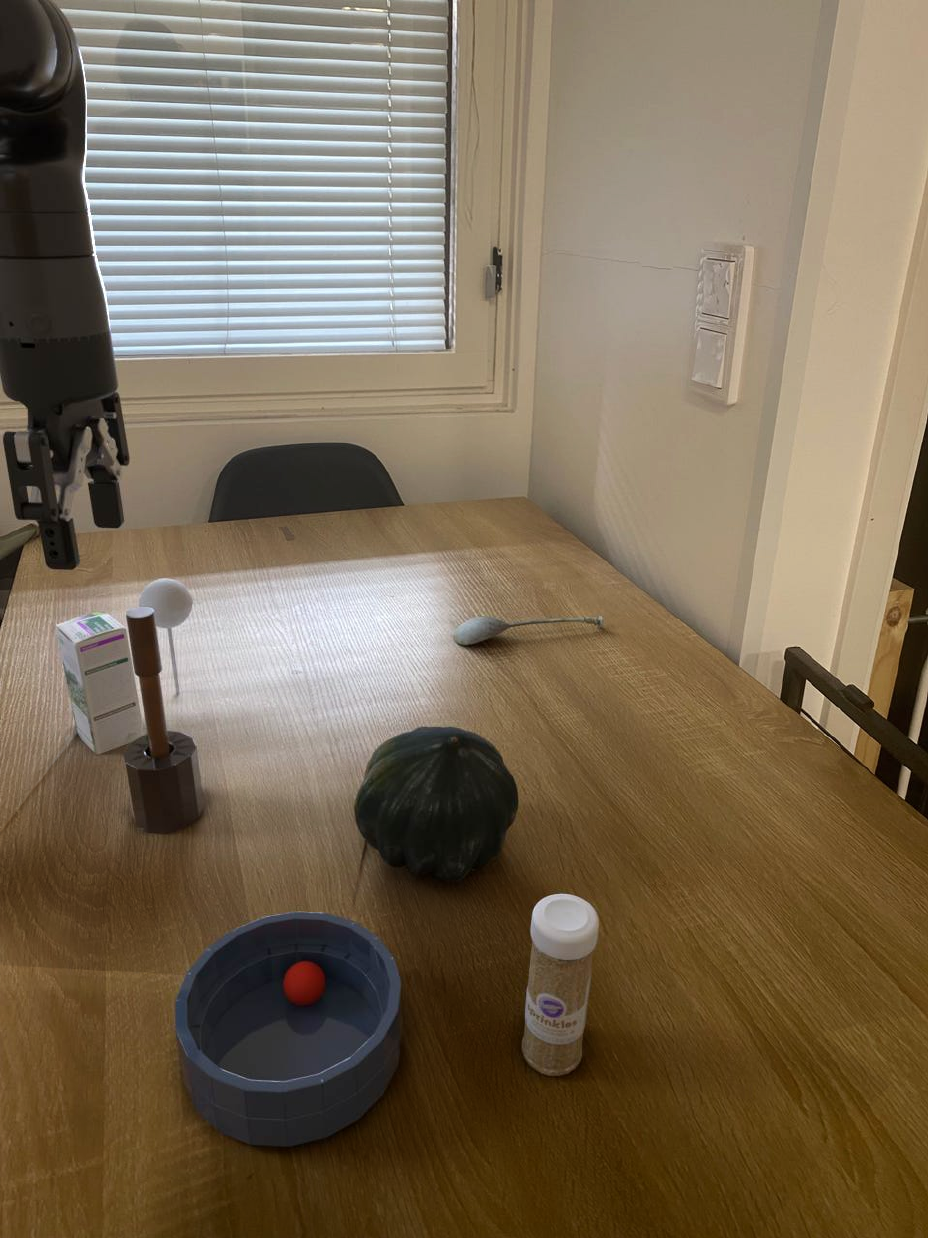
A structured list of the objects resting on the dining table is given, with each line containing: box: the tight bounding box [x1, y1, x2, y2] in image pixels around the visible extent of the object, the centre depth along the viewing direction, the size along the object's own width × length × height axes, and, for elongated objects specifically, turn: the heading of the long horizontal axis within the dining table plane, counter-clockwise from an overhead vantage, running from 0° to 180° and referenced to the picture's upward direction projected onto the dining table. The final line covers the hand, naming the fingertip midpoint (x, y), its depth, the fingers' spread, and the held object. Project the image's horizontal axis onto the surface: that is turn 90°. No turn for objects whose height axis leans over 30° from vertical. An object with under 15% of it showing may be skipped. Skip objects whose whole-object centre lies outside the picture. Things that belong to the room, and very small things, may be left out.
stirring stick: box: [125, 606, 170, 758], centre depth 86 cm, size 2×2×22 cm
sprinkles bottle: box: [521, 893, 600, 1077], centre depth 64 cm, size 5×5×13 cm
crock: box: [122, 730, 205, 834], centre depth 89 cm, size 7×7×8 cm
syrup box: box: [55, 610, 145, 756], centre depth 100 cm, size 6×6×14 cm
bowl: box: [174, 910, 403, 1148], centre depth 66 cm, size 16×16×6 cm
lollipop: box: [138, 577, 194, 694], centre depth 109 cm, size 6×6×15 cm
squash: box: [353, 726, 520, 883], centre depth 84 cm, size 14×15×15 cm
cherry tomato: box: [283, 961, 325, 1006], centre depth 70 cm, size 3×3×3 cm
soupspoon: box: [452, 615, 604, 646], centre depth 129 cm, size 22×3×7 cm
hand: (88, 546), depth 69 cm, fingers open, 8 cm apart
